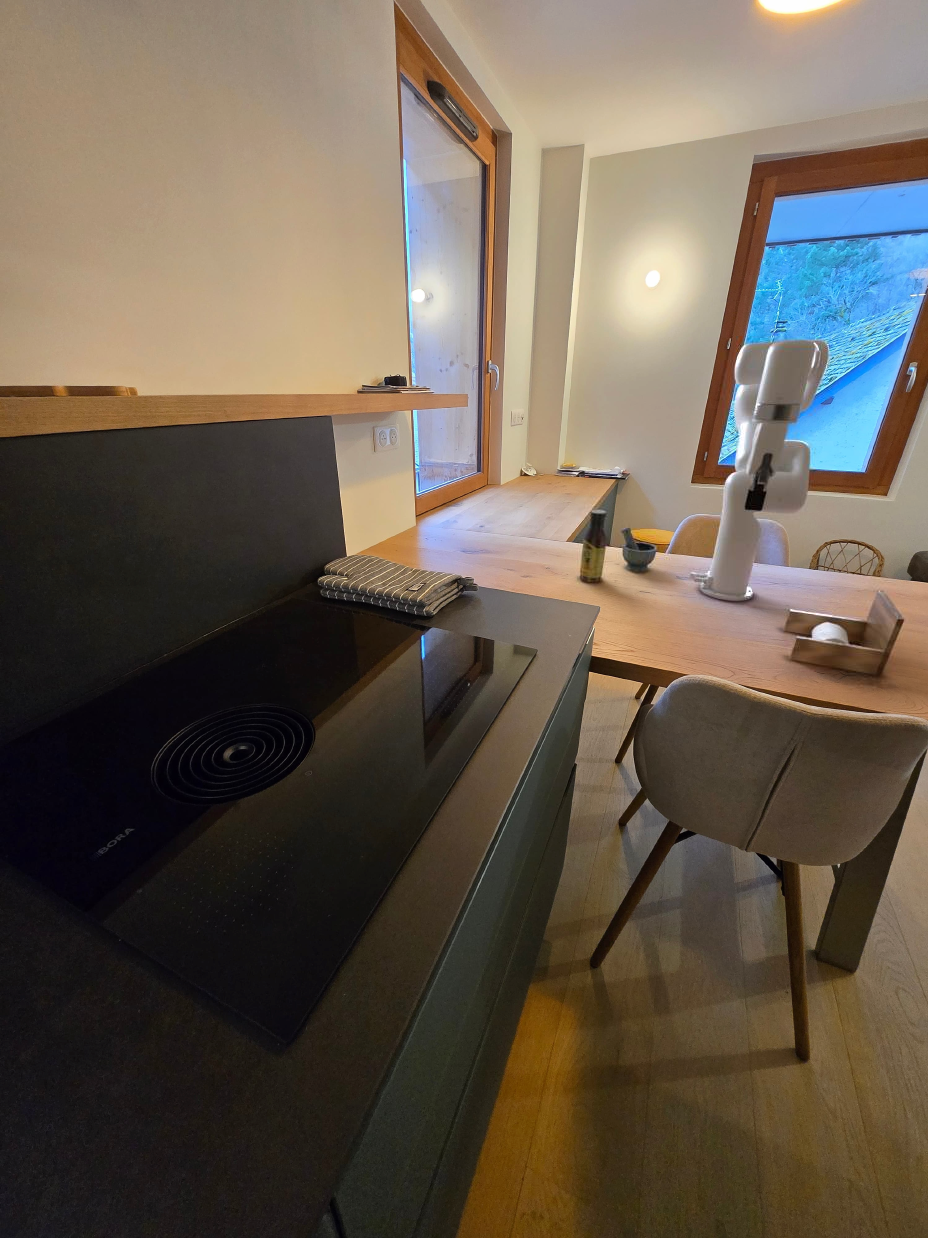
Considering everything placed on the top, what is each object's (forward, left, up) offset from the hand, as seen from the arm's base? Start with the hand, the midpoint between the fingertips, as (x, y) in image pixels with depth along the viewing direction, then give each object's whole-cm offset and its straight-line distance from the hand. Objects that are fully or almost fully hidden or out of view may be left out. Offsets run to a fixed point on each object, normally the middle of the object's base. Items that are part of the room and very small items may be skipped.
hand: (752, 509), depth 102 cm
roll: (+19, -4, -27) cm, 34 cm away
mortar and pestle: (-25, +32, -27) cm, 49 cm away
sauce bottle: (-35, +17, -27) cm, 48 cm away
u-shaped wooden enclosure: (+20, -4, -27) cm, 34 cm away
